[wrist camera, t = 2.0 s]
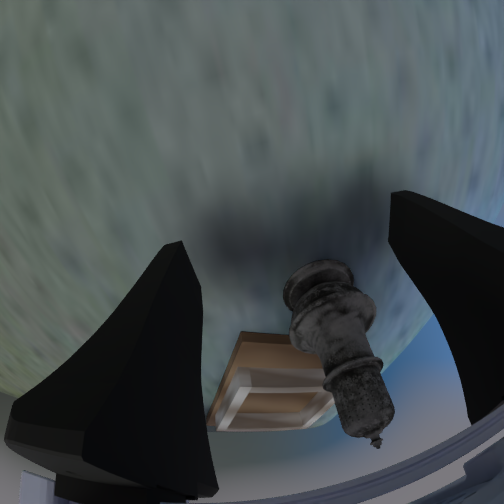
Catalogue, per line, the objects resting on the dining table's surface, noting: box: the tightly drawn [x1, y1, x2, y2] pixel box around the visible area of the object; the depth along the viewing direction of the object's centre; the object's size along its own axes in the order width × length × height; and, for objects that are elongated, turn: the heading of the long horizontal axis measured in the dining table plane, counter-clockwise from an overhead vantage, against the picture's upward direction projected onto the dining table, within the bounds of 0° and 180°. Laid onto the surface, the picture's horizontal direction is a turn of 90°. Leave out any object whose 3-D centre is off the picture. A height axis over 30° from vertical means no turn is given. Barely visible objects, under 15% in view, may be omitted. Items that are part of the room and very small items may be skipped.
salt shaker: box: [283, 259, 395, 449], centre depth 16 cm, size 6×6×12 cm
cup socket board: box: [206, 332, 370, 432], centre depth 27 cm, size 18×12×3 cm, turn 164°
